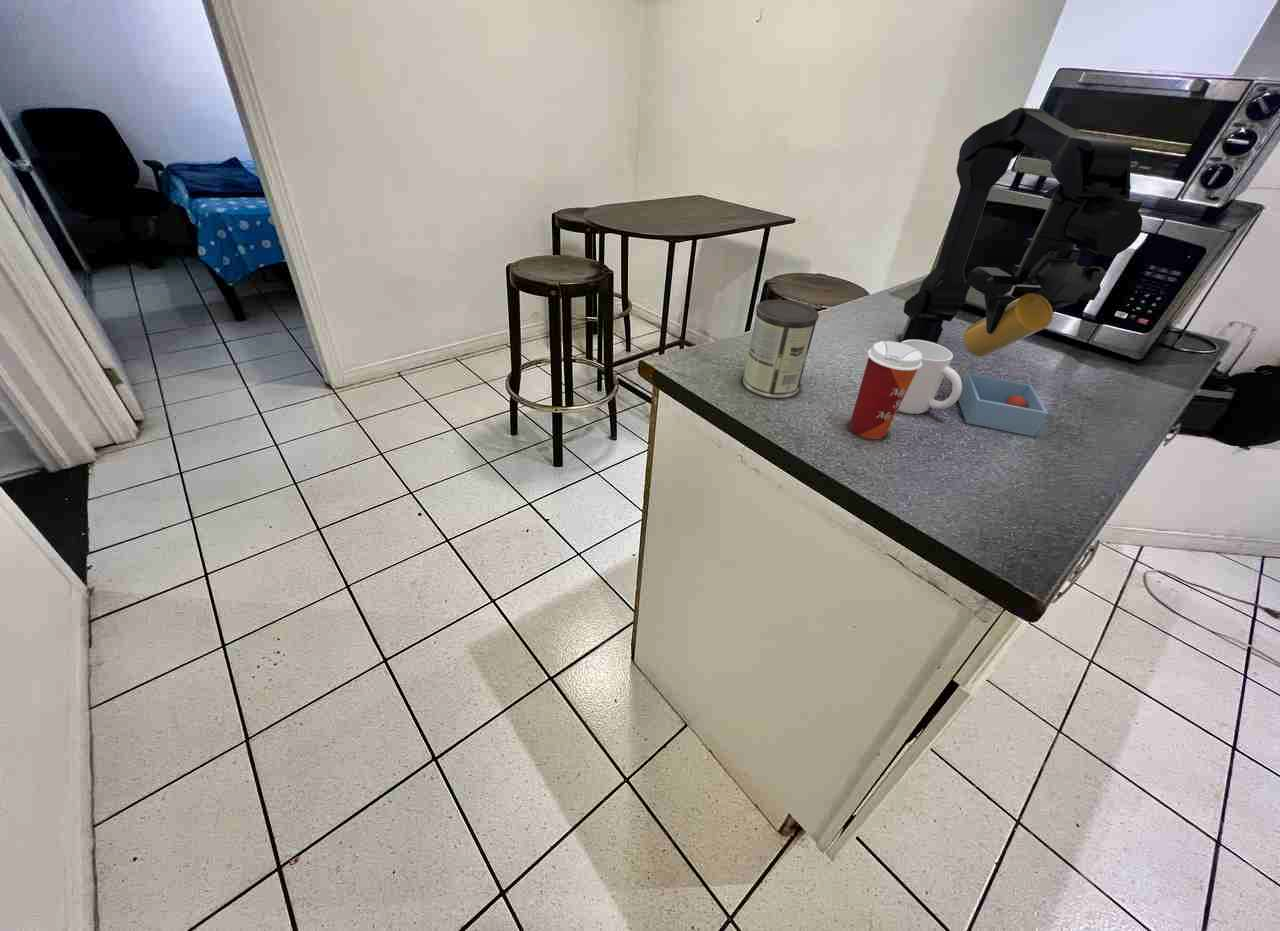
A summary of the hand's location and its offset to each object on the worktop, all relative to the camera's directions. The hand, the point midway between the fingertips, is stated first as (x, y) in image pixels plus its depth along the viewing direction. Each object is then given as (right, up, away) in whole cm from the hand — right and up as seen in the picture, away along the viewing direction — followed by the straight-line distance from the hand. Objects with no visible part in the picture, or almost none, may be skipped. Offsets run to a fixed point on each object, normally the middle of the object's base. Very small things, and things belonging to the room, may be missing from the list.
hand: (1007, 333), depth 89 cm
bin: (0, -14, +3) cm, 14 cm away
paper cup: (-25, -17, -4) cm, 31 cm away
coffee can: (-39, -8, +7) cm, 40 cm away
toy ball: (+3, -12, +2) cm, 12 cm away
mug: (-14, -13, +3) cm, 19 cm away
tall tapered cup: (0, 0, +7) cm, 7 cm away
